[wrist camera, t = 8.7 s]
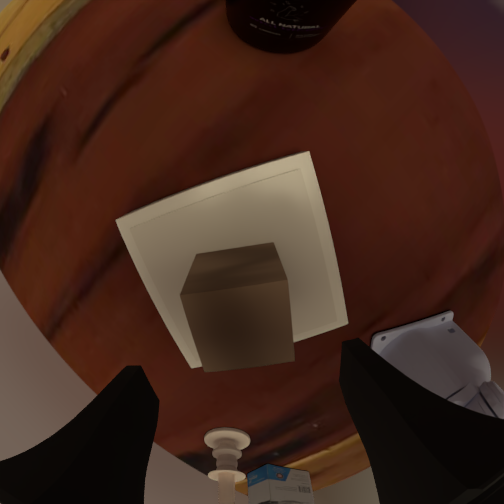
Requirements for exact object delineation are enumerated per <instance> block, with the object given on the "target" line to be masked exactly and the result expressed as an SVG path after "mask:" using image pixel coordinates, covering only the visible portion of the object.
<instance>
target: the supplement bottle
mask: <svg viewBox="0 0 504 504" xmlns="http://www.w3.org/2000/svg"><path fill="white" fill-rule="evenodd" d="M356 1H357V0H226V11H227V17H228V21H229V23H230V25H231V27H232V28H233V30H234V31H235V32H236V33H237V34H238V35H239V36H240V37H241V38H242V39H244V40H245V41H247V42H248V43H250V44H252V45H254V46H256V47H259V48H261V49H265V50H268V51H274V52H297V51H301V50H305V49H307V48H310V47H312V46H314V45H315V44H317V43H318V42H319V41H320V40H322V39H323V38H324V36H325V35H326V34H327V33H328V32H329V31H330V30H331V29H332V27H333V26H334V25H335V24H336V23H337V22H338V21H339V19H340V18H341V17H342V16H343V15H344V14H345V13H346V12H347V11H348V9H349V8H350V7H351V6H352V5H353V4H354V3H355V2H356Z"/></svg>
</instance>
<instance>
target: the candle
mask: <svg viewBox="0 0 504 504" xmlns="http://www.w3.org/2000/svg"><path fill="white" fill-rule="evenodd" d="M204 441H205V443H206V444H207V445H208V446H209V447H211V448H213V449H214V450H213V451H212V455H213V456H214V457H215V458H217V462H216V465H217V469H216V470H214V471H211V472H209V473H208V477H209V478H211V479H212V480H215V481H218V486H219V487H218V488H219V489H218V490H219V491H218V492H219V493H218V495H219V504H235V482H238V481H241V480H243V479H245V477H246V475H245V474H244V473H242V472H240V471H237V465H238V464H237V459H239V458H240V457H241V456H242V452H241V451H240V450H241V449H244V448H245V447H247V446H248V445H249V444H250V437H249V435H248V434H247V433H246V432H244V431H242V430H239V429H235V428H227V427H223V428H216V429H212V430H210V431H208V432H207V433H206V434H205V436H204Z"/></svg>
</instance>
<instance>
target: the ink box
mask: <svg viewBox="0 0 504 504" xmlns="http://www.w3.org/2000/svg"><path fill="white" fill-rule="evenodd" d="M247 479H248V498H249V504H315V502H314V496H313V491H312V486H311V481H310V476H309V472H308V471H302V470H296V469H291V468H285V467H280V466H275V465H271V464H266V465H264V466H262V467H260V468H258V469H256V470H254V471H252V472H250V473H248V474H247Z"/></svg>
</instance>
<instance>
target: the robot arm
mask: <svg viewBox="0 0 504 504" xmlns="http://www.w3.org/2000/svg"><path fill="white" fill-rule="evenodd" d="M453 315H454V313H453V312H452V311H447V312H444V313H442V314H439V315H436V316H433V317H430V318H427V319H424V320H421V321H417V322H414V323H411V324H408V325H404V326H401V327H398V328H394V329H391V330H387V331H383V332H380V333H377V334H375V335H374V336H373V337H372V342H371V348H370V347H369V346H368V345H367V344H365V343H364V342H363V341H362V340H360V339H359V338H356V339H352V340H348V341H343V342H342V352H341V366H340V377H339V382H340V386H341V389H342V393H343V396H344V399H345V403H346V405H347V408H348V410H349V412H350V415H351V417H352V419H353V422H354V424H355V426H356V429H357V431H358V433H359V435H360V438H361V440H362V442H363V445H364V447H365V449H366V452H367V455H368V458H369V461H370V464H371V468H372V472H373V475H374V479H375V483H376V488H377V492H378V496H379V502H380V504H504V391H503V390H502V389H501V388H500V387H499V386H498V385H497V384H496V383H495V382H494V381H490V380H491V370H490V365H489V361H488V359H487V357H486V355H485V354H484V352H483V351H482V350H481V349H480V348H479V346H478V345H477V344H476V343H475V342H474V341H473V340H472V339H471V338H470V337H469V336H468V335H467V334H466V333H465V332H464V331H463V330H462V329H461V328H460V327H459V326H458V325H457V324H455V323H454V322H453V321H452V319H453ZM383 336H384V337H383ZM382 337H383V338H382ZM158 412H159V399H158V397H157V396H156V394H155V392H154V390H153V388H152V386H151V385H150V383H149V381H148V379H147V377H146V375H145V373H144V371H143V369H142V367H141V366H126V367H125V368H124V369H123V370H122V371H121V372H120V373H119V374H118V375H117V376H116V377H115V378H114V379H113V380H112V381H111V382H110V383H109V384H108V385H107V386H106V387H105V388H104V389H103V390H102V391H101V392H100V393H99V394H98V395H97V396H96V397H95V398H94V399H93V401H92V402H91V403H89V404H88V405H87V407H85V408H84V409H83V410H82V411H81V412H80V413H79V414H78V415H77V416H76V417H75V418H74V419H72V420H71V421H70V422H69V423H68V424H66V425H65V426H64V427H63V428H61V429H60V430H59V431H58V432H56V433H55V434H53V435H52V436H51V437H49V438H47V439H46V440H44V441H43V442H41V443H39V444H38V445H36V446H35V447H33V448H31V449H29V450H27V451H25V452H23V453H21V454H18V455H16V456H14V457H11V458H8V459H6V460H2V461H0V503H1V504H144V488H145V477H146V470H147V466H148V461H149V456H150V452H151V448H152V444H153V440H154V436H155V431H156V427H157V421H158Z"/></svg>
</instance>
